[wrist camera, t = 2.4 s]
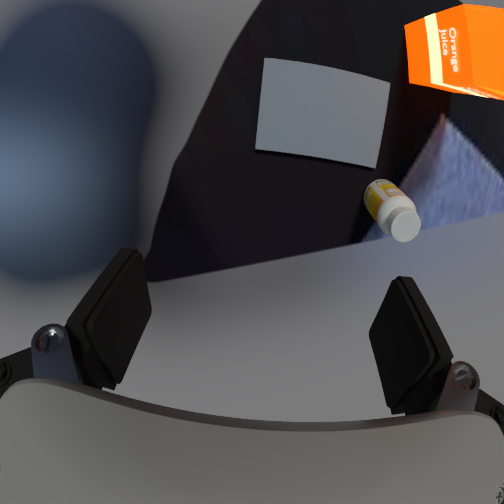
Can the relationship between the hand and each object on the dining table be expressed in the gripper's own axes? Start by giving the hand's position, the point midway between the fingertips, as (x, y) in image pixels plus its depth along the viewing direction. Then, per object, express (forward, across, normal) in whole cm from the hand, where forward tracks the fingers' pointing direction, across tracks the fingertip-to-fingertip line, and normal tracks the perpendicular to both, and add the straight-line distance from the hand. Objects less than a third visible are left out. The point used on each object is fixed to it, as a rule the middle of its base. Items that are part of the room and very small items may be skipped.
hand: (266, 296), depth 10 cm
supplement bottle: (+28, -16, +4) cm, 33 cm away
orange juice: (+28, -20, -18) cm, 39 cm away
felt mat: (+28, -6, -6) cm, 30 cm away
